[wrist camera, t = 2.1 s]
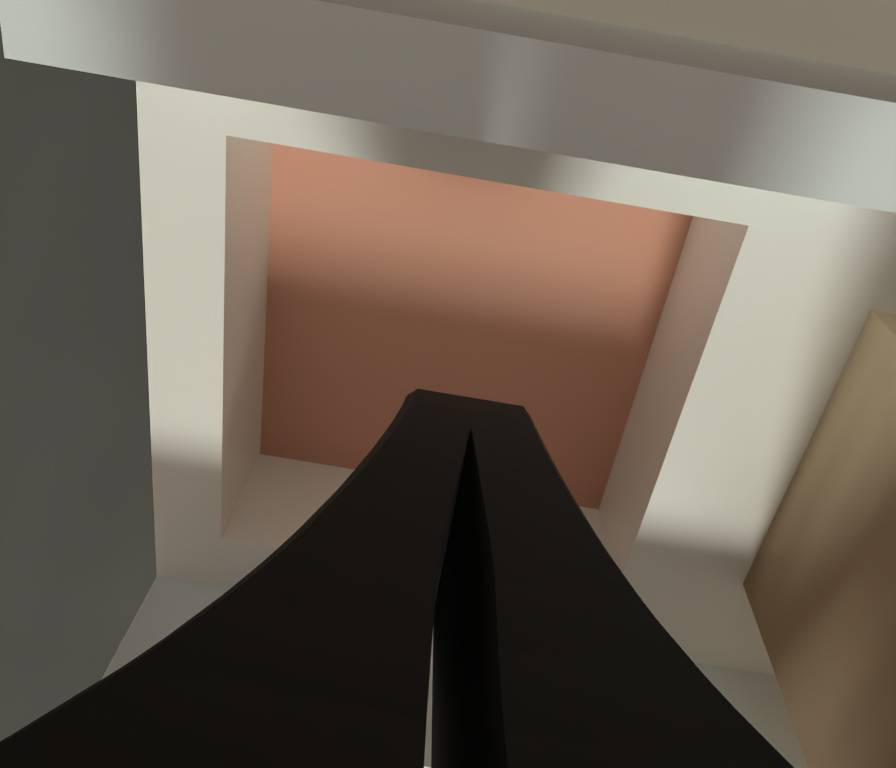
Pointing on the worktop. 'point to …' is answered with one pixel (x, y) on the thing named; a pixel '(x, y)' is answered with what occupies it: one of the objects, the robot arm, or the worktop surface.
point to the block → (839, 569)
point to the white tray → (500, 263)
